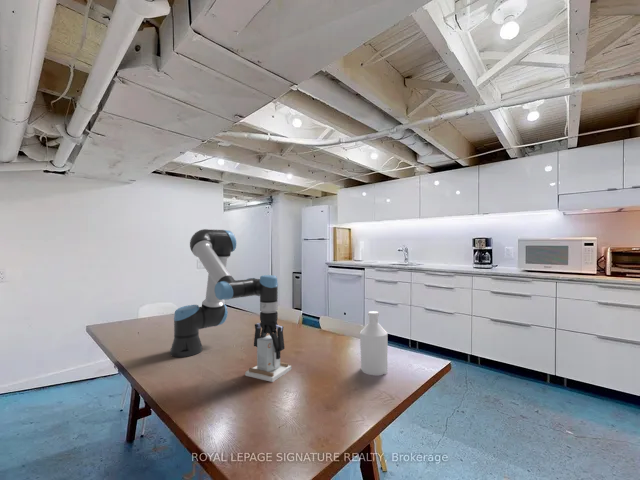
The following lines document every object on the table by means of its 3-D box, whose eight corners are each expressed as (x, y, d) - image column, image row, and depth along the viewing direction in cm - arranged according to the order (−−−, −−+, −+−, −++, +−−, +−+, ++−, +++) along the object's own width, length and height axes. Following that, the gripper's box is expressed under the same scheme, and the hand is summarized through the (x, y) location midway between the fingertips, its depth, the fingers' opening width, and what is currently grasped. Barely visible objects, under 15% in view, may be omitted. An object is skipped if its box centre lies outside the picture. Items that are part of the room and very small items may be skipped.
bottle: (389, 366, 133) (388, 310, 134) (386, 377, 122) (385, 316, 122) (363, 363, 137) (362, 308, 137) (358, 373, 125) (357, 314, 126)
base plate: (245, 375, 124) (245, 369, 124) (265, 363, 137) (265, 358, 137) (272, 382, 118) (272, 375, 118) (291, 369, 131) (291, 363, 131)
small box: (270, 363, 133) (271, 334, 133) (280, 367, 129) (280, 337, 129) (256, 369, 126) (256, 338, 127) (266, 373, 122) (266, 341, 123)
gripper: (244, 310, 129) (244, 363, 129) (283, 315, 120) (283, 372, 120) (255, 307, 136) (256, 358, 135) (293, 311, 127) (293, 365, 126)
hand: (268, 364), depth 128 cm, fingers open, 7 cm apart
